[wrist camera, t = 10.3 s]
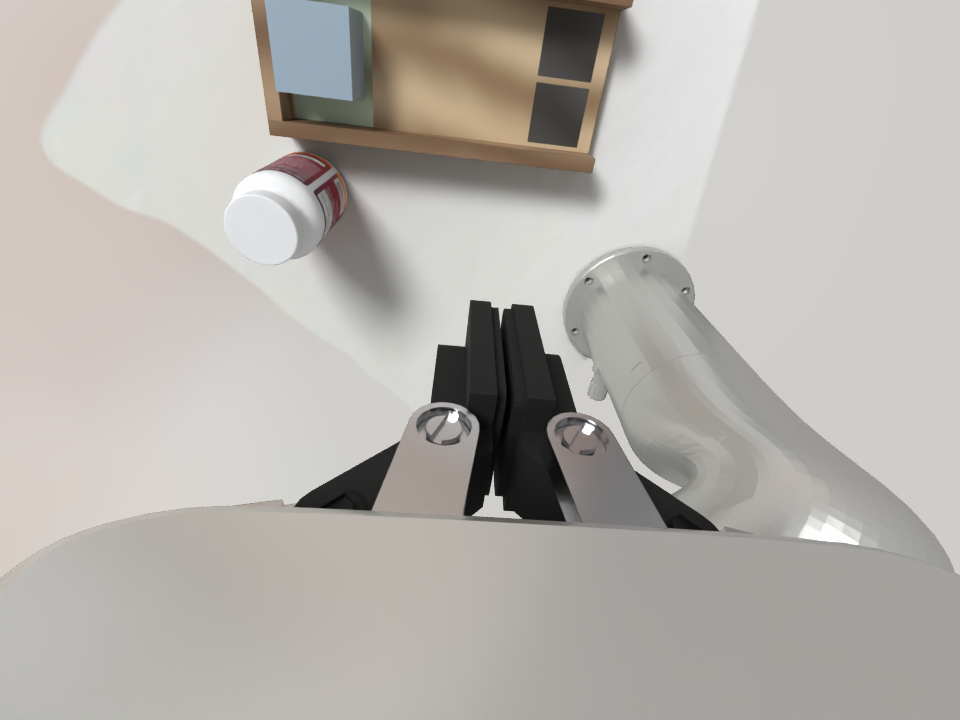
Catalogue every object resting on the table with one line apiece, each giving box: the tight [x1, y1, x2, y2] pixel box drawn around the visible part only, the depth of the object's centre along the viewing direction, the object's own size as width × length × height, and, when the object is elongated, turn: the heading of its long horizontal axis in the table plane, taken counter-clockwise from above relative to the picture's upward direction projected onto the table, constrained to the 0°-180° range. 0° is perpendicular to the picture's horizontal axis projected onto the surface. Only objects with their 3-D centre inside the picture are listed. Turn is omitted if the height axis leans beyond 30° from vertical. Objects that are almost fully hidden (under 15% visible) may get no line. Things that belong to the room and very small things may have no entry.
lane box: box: [251, 0, 633, 173], centre depth 31 cm, size 11×24×4 cm, turn 84°
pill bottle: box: [224, 152, 347, 265], centre depth 33 cm, size 6×6×11 cm
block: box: [265, 0, 365, 101], centre depth 29 cm, size 5×5×4 cm
